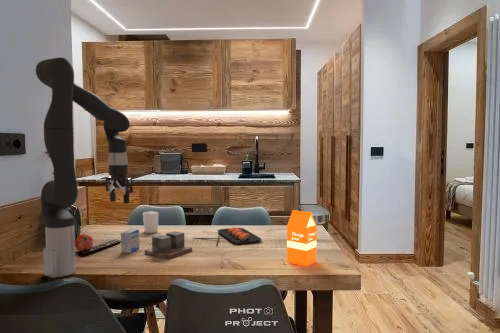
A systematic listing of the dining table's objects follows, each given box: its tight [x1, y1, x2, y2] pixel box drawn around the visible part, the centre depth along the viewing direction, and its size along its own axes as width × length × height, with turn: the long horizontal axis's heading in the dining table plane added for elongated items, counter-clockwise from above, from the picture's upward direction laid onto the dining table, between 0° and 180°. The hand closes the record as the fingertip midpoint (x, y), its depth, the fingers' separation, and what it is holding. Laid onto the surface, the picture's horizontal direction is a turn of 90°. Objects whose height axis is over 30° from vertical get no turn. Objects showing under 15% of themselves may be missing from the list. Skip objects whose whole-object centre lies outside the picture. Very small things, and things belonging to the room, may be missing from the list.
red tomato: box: [75, 233, 94, 252], centre depth 166 cm, size 7×7×10 cm
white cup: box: [142, 210, 159, 234], centre depth 202 cm, size 8×8×10 cm
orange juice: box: [286, 209, 318, 267], centre depth 150 cm, size 8×9×20 cm
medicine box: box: [120, 228, 140, 254], centre depth 166 cm, size 8×4×9 cm, turn 168°
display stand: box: [144, 230, 193, 260], centre depth 163 cm, size 14×14×8 cm
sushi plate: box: [193, 226, 262, 247], centre depth 187 cm, size 29×30×4 cm
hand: (119, 202), depth 160 cm, fingers open, 8 cm apart
